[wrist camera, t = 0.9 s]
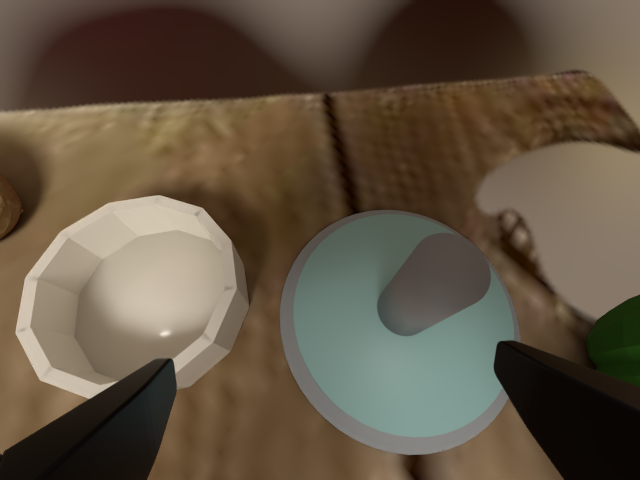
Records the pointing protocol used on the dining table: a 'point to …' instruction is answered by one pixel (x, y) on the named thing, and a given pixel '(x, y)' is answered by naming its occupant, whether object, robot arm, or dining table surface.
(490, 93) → the dining table surface
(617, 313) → the bell pepper
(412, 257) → the lid
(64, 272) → the bowl
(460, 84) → the dining table surface
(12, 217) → the bread roll
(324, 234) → the mat
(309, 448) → the dining table surface
